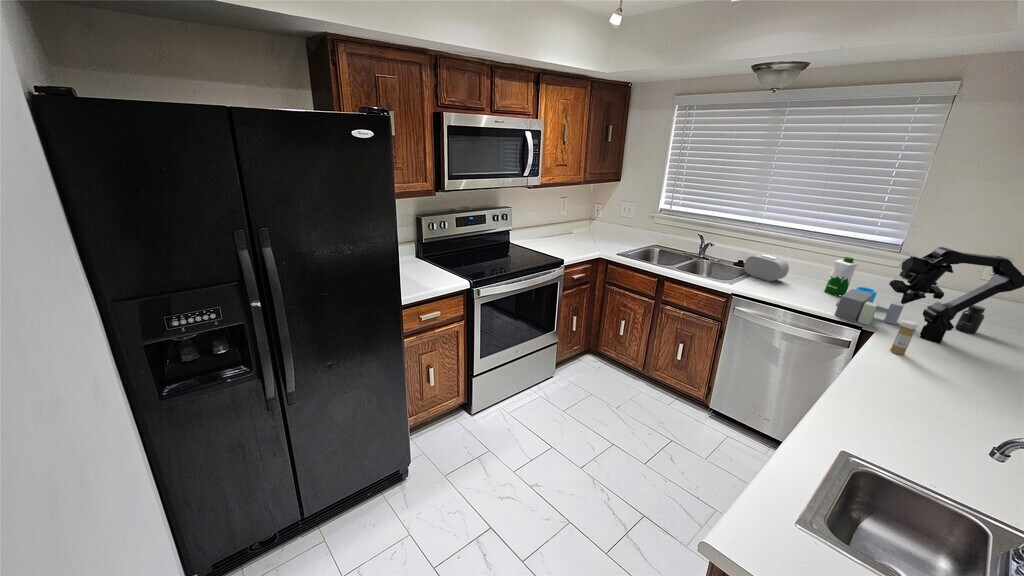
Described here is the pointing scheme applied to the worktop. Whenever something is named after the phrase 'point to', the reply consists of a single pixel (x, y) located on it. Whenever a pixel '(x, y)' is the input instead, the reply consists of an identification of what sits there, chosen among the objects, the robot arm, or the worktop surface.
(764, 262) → the grey rounded oblong block
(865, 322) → the green key
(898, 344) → the sprinkles bottle
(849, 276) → the milk carton
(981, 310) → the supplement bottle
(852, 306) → the grey curved block
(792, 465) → the worktop surface
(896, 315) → the grey key
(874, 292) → the mug
